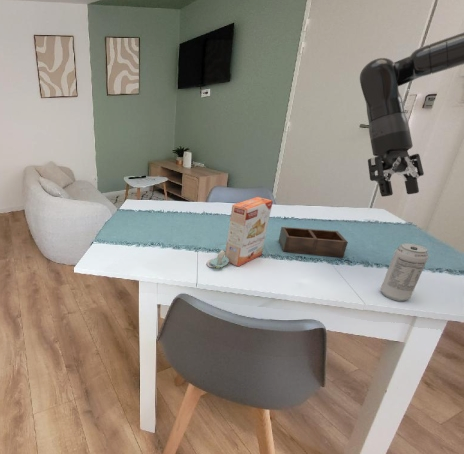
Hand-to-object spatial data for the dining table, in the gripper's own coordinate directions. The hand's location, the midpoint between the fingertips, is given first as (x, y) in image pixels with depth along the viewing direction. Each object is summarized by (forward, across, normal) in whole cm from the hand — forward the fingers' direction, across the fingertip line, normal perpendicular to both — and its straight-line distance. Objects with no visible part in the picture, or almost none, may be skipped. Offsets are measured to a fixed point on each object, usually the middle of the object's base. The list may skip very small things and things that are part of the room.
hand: (400, 194), depth 76 cm
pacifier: (+16, -36, +32) cm, 51 cm away
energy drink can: (+27, 0, +6) cm, 28 cm away
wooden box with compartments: (+14, +1, +32) cm, 35 cm away
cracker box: (+14, -25, +33) cm, 44 cm away
